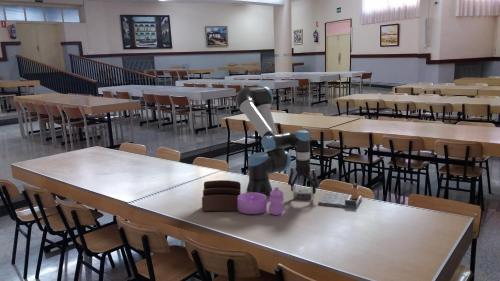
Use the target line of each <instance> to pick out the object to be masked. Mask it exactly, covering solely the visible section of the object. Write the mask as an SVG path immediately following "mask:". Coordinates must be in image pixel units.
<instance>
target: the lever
mask: <svg viewBox="0 0 500 281" xmlns="http://www.w3.org/2000/svg"><path fill="white" fill-rule="evenodd" d="M350 195H351V199H358V198H359V196H360V187H359V186H358V183H352V187H351V189H350Z"/></svg>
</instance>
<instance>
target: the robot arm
mask: <svg viewBox="0 0 500 281" xmlns="http://www.w3.org/2000/svg"><path fill="white" fill-rule="evenodd" d="M235 100H236V105H237V107H238V109H239V111H240V112H241V113H244V115H245V116H246V118H247V119H248V121H249V122H250V124H251V125H252V126H253V128H254V129H255V130H256V132H257V133H258V135H259V136H260V137H261V141H260V142H261V147H262V148H263V149H264V150H265V151H263V152H261V151H260V152H255V153H252V154H250V155H249V156H248V161H247V165H248V184H247V187H246V193H260V194H264V195H266V196H271V195H270V192H271V191H273V187H272V184H271V182H270V174H274V173H280V172H284V171H287V170H289V168H290V167H291V163H292V157H291V155H290V152H288V151H287V150H285V148H287V147H295V167H294V166H293V167H291V168H290V174H289V177H288V182H287V185H289V186H290V192H292V198H293V199H294V198H296V197H297V196H296V194H295V191H296V190H297V188H296V185H295V184H296V182H297V180H298V179H299V177H300V176H303V177H306V178H307V180H308V182H309V184H310V185H311V188H310V189H311V198H310V200H311V201H313V200H314V199H315V194H316V192H317V190H316V188H318V187H319V186H320V183H319V180H318V176H317V174H316V172H317V170H316V169H315V168H313V169H312V168H311V159H310V158H311V152H310V151H311V137H310V135H311V134H310V132H309V131H308V130H304V129H303V130H302V129H301V130H296V131H295V132H292V131H284V132H283V133H278V132H277V129H276V125H275V121H274V117H273V114H272V110H271V108H272V106H273V105H272V104H273V102H274V94H273V91H272V90H271V88H269V87H268V86H263V85H260V86H250V87H249V86H248V87H247V86H246V87H244V88H242V89H240V90H239V91H238V93H237V95H236V98H235ZM295 172H296V175H295V177H294V174H295ZM310 172H311V173H310ZM311 174H312V176H311Z"/></svg>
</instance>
